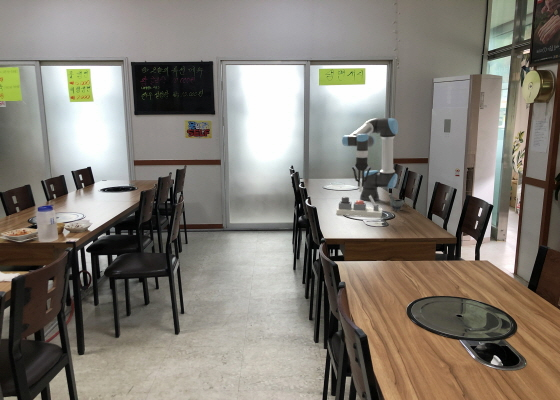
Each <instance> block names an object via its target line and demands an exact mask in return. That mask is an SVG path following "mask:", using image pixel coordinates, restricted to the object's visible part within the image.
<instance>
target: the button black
mask: <svg viewBox="0 0 560 400" xmlns="http://www.w3.org/2000/svg"><path fill="white" fill-rule="evenodd" d="M341 201H342V203H347V204H349V202H350V197H348V196H342V197H341Z"/></svg>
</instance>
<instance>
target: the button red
mask: <svg viewBox="0 0 560 400" xmlns="http://www.w3.org/2000/svg"><path fill="white" fill-rule="evenodd" d="M364 201H365V200H361V199H359V200H356V201H355V202H356V204H364V203H365V202H364Z"/></svg>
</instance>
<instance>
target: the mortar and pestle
mask: <svg viewBox="0 0 560 400" xmlns="http://www.w3.org/2000/svg"><path fill="white" fill-rule="evenodd" d="M387 195H388V196H387V197H389V199H390V200H389V205H390V207H391V211H394V212H395V211H396V212H399V211H401V210H402V209H401V208H402V207H403V205H404V204H405V200H403V199H399V198H398V199H396V198H395V197H394V196H393V194H392V192H391V193H389V194H387Z"/></svg>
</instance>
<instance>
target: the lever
mask: <svg viewBox="0 0 560 400" xmlns="http://www.w3.org/2000/svg"><path fill="white" fill-rule="evenodd" d="M369 198H370V200H371V201H370V203H371V204H372V206H373V207H374V206H376V205H377V203H376V202H375V201H374V200H373V198H372V196H369Z"/></svg>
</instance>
